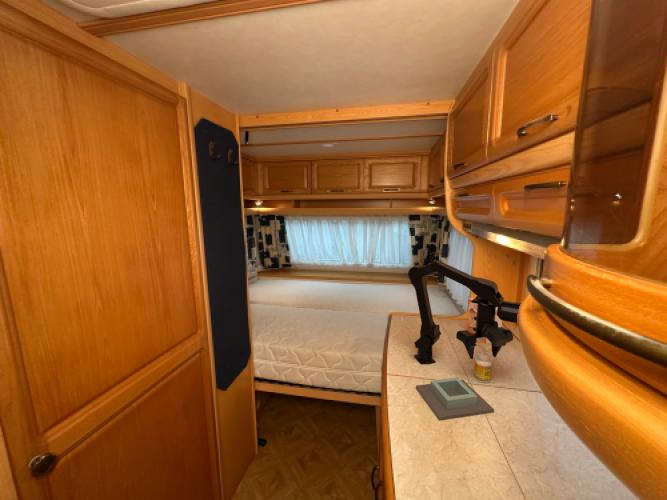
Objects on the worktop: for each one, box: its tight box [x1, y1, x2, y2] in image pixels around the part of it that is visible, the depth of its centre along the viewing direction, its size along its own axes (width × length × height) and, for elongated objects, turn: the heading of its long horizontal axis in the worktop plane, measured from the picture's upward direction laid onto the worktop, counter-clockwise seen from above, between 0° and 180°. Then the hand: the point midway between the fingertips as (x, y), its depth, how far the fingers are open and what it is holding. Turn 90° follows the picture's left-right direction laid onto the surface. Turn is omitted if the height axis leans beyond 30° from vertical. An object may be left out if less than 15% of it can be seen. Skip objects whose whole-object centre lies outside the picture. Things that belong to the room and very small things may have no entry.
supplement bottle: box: [473, 351, 492, 384], centre depth 98 cm, size 5×5×10 cm
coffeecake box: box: [466, 297, 503, 352], centre depth 124 cm, size 15×7×20 cm, turn 4°
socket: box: [415, 377, 495, 421], centre depth 88 cm, size 15×18×4 cm
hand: (482, 357), depth 98 cm, fingers open, 9 cm apart
